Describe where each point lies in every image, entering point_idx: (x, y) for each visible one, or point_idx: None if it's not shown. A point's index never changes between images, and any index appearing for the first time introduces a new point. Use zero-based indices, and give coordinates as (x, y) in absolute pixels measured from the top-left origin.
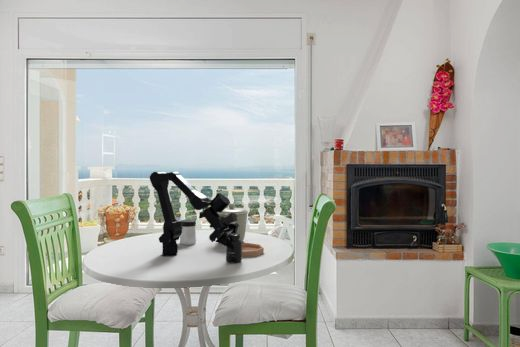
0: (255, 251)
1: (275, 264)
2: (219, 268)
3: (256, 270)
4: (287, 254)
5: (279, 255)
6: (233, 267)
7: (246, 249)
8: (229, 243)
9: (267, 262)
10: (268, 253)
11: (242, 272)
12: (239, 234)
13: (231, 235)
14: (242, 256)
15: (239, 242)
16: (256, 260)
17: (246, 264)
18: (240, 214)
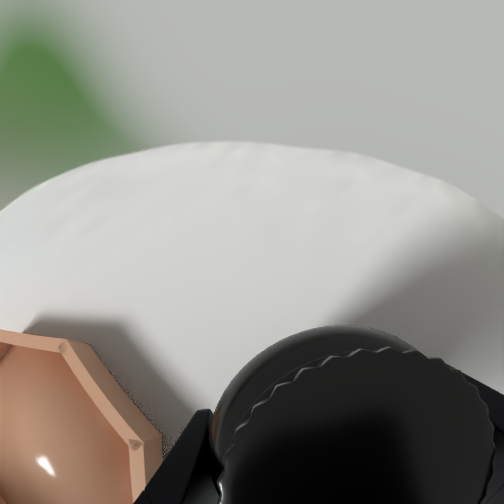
0: (71, 343)
1: (213, 143)
2: (489, 375)
3: (381, 165)
4: (20, 205)
5: (39, 226)
6: (430, 317)
7: (26, 455)
8: (489, 397)
9: (194, 197)
10: (18, 303)
11: (457, 209)
12: (334, 357)
13: (492, 447)
14: (154, 429)
15: (359, 329)
16: (183, 284)
17: (318, 287)
18: None
